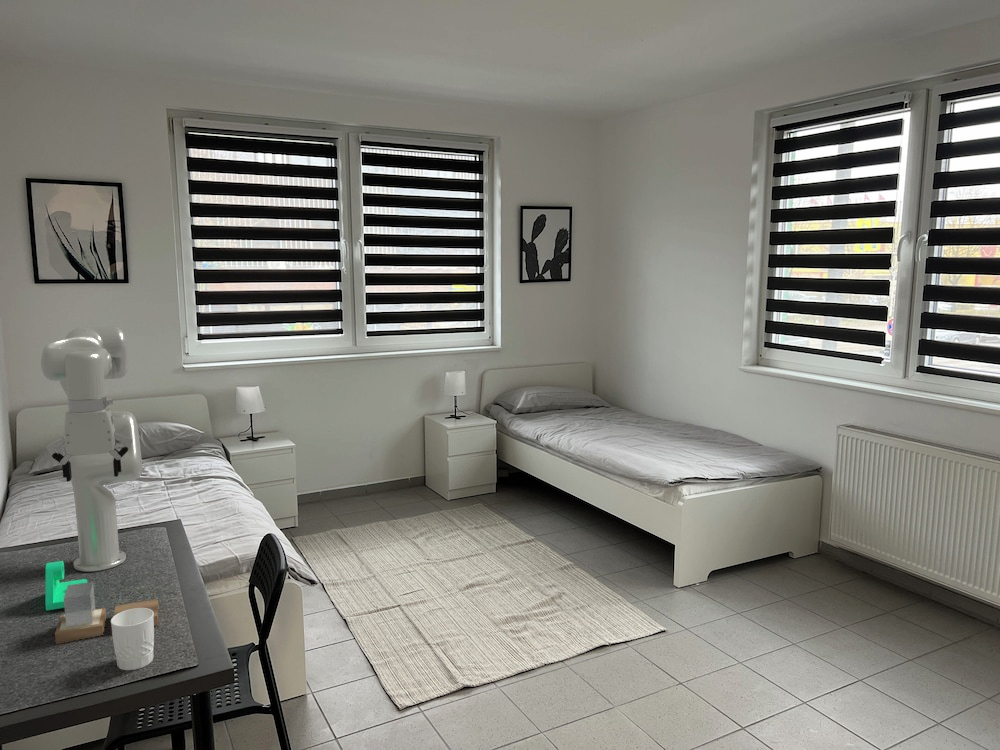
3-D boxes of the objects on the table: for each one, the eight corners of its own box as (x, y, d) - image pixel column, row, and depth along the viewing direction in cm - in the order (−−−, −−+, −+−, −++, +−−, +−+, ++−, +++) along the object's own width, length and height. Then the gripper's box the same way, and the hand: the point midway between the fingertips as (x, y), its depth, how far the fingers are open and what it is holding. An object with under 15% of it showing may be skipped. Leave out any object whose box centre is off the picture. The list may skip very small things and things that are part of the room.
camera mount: (83, 608, 173) (80, 568, 171) (46, 614, 170) (42, 573, 168) (88, 588, 184) (85, 549, 182) (53, 593, 180) (49, 554, 179)
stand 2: (116, 615, 169) (115, 605, 169) (158, 608, 173) (157, 598, 172) (113, 633, 161) (112, 623, 161) (158, 626, 165) (157, 615, 164)
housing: (70, 614, 164) (67, 585, 163) (95, 610, 166) (93, 581, 165) (66, 628, 158) (63, 598, 157) (92, 624, 160) (90, 594, 159)
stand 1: (61, 625, 165) (60, 614, 164) (106, 617, 168) (105, 606, 168) (55, 644, 156) (54, 632, 156) (103, 635, 160) (102, 624, 160)
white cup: (128, 676, 145) (125, 629, 143) (106, 665, 149) (102, 619, 147) (164, 658, 151) (161, 613, 150) (142, 648, 155) (139, 604, 154)
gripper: (130, 399, 172) (135, 469, 175) (45, 405, 165) (52, 477, 168) (128, 405, 165) (134, 477, 168) (40, 411, 158) (47, 486, 161)
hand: (93, 477), depth 168 cm, fingers open, 9 cm apart
